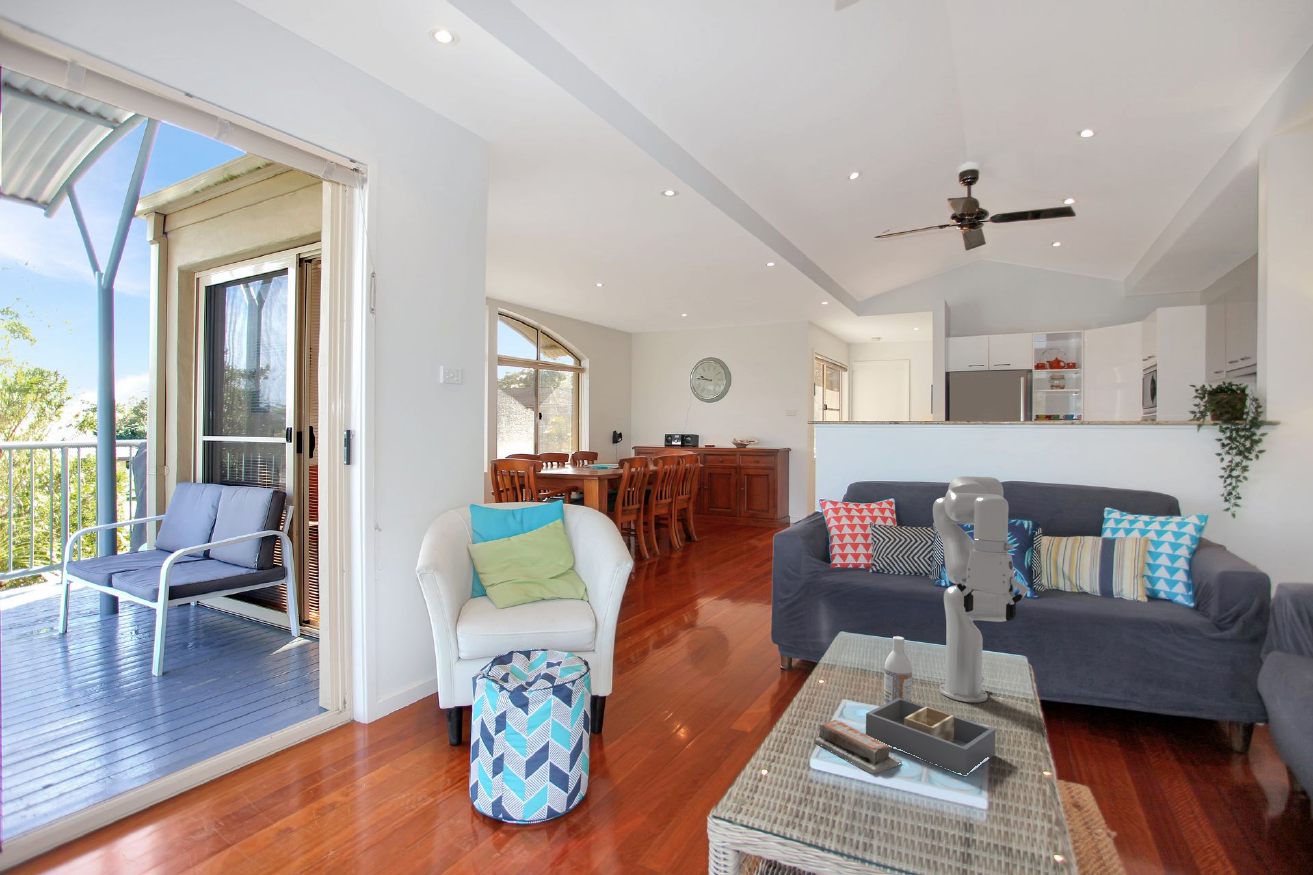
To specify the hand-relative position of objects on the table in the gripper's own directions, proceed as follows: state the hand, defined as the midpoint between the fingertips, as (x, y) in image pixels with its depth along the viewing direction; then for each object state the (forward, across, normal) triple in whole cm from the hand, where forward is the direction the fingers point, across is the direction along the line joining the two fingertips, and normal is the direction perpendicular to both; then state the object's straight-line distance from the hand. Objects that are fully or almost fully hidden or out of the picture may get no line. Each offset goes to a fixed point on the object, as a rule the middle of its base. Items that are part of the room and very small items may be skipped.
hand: (989, 615), depth 160 cm
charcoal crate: (+30, +7, +16) cm, 35 cm away
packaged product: (+31, +16, +33) cm, 48 cm away
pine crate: (+29, +7, +16) cm, 34 cm away
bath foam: (+31, +22, +3) cm, 38 cm away
